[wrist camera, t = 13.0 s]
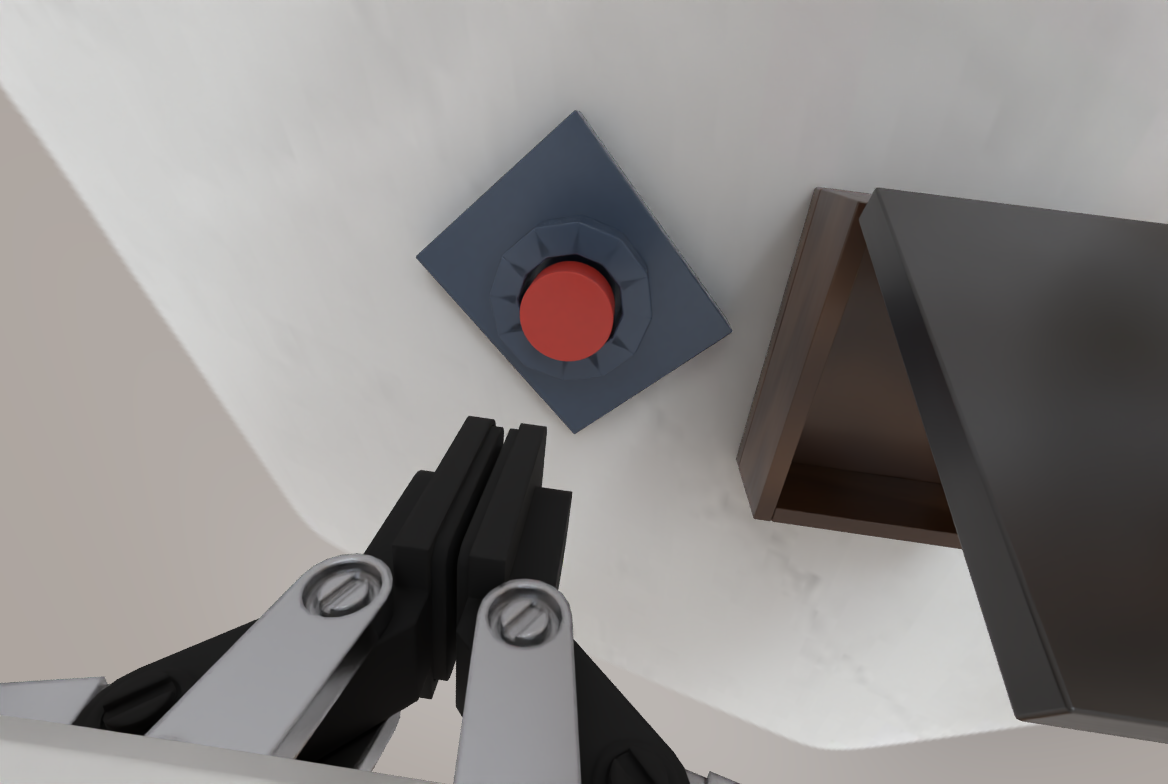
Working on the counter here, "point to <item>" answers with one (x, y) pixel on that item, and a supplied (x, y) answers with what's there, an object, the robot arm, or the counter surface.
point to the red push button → (568, 311)
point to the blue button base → (584, 234)
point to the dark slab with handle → (1045, 437)
